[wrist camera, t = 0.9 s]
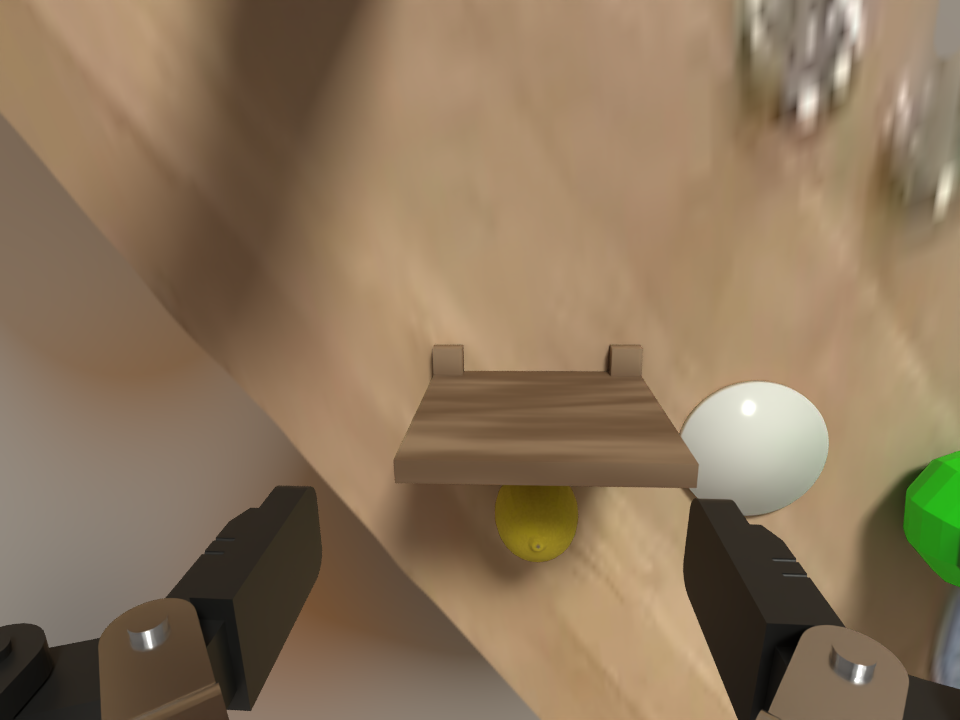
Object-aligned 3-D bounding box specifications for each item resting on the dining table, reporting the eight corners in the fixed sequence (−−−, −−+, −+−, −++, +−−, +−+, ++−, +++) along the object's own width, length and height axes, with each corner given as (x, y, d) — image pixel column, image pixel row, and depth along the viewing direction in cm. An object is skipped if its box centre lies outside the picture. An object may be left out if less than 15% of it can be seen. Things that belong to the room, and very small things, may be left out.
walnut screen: (434, 344, 40) (391, 422, 27) (640, 344, 39) (702, 425, 26) (437, 412, 41) (397, 518, 28) (635, 414, 40) (693, 524, 27)
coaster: (682, 380, 39) (684, 382, 39) (834, 380, 39) (839, 383, 38) (671, 509, 42) (673, 514, 42) (813, 512, 42) (817, 517, 41)
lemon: (578, 510, 43) (590, 579, 35) (504, 520, 43) (501, 591, 36) (566, 443, 41) (576, 500, 34) (490, 454, 42) (483, 513, 34)
